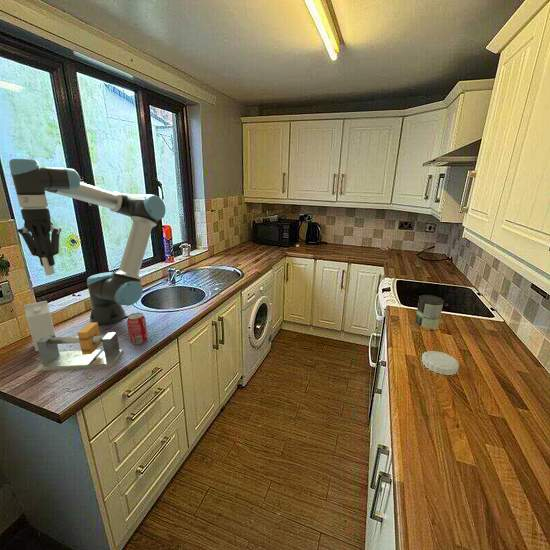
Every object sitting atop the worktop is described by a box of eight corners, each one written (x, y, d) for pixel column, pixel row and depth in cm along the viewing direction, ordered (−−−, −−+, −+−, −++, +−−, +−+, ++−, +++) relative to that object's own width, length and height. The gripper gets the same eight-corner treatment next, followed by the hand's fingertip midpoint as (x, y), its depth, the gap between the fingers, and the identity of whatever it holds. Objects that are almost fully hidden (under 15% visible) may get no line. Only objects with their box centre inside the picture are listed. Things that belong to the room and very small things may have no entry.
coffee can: (410, 324, 138) (414, 297, 134) (421, 319, 144) (426, 293, 140) (431, 333, 130) (436, 304, 126) (442, 327, 136) (448, 299, 131)
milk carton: (35, 344, 118) (23, 302, 112) (56, 339, 122) (46, 298, 117) (35, 351, 113) (23, 308, 107) (57, 345, 117) (47, 303, 112)
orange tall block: (82, 354, 102) (77, 332, 100) (93, 343, 110) (89, 322, 107) (91, 354, 103) (86, 332, 100) (101, 342, 110) (97, 322, 107)
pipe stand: (38, 370, 101) (31, 345, 98) (56, 355, 111) (50, 331, 108) (111, 367, 104) (107, 342, 101) (123, 351, 113) (119, 328, 110)
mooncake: (454, 361, 109) (455, 353, 108) (460, 380, 99) (462, 371, 98) (419, 354, 113) (420, 346, 112) (422, 372, 103) (424, 363, 102)
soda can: (143, 335, 126) (139, 310, 122) (151, 340, 122) (148, 315, 118) (127, 341, 121) (122, 316, 117) (135, 347, 116) (130, 321, 113)
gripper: (4, 208, 92) (23, 277, 99) (47, 208, 94) (63, 276, 101) (22, 207, 99) (38, 271, 106) (61, 207, 101) (75, 270, 108)
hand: (50, 274), depth 104 cm, fingers closed
